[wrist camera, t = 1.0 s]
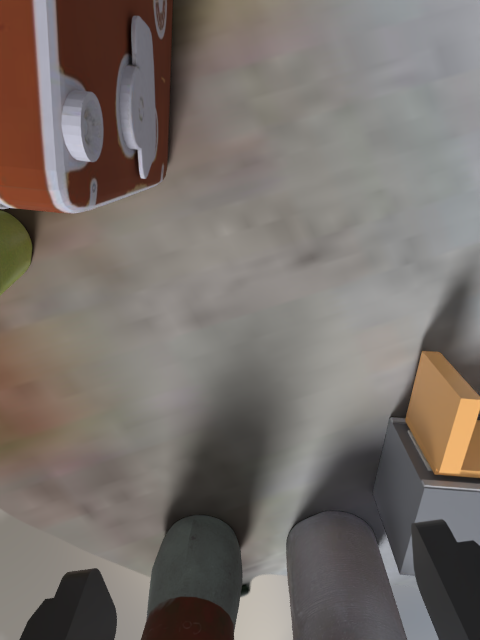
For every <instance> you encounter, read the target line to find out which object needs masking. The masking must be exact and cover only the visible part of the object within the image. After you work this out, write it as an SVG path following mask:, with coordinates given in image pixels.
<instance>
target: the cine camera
mask: <svg viewBox="0 0 480 640" xmlns="http://www.w3.org/2000/svg"><path fill="white" fill-rule="evenodd" d="M172 14H173V0H0V209H7V208H17V209H27V210H37V211H48V212H58V213H69V214H72V213H78V212H84V211H88V210H92V209H95V208H97V207H100V206H103V205H105V204H108V203H111V202H114V201H116V200H119V199H122V198H125V197H127V196H130V195H133V194H136V193H138V192H141V191H144V190H147V189H149V188H152V187H154V186H156V185H158V184H159V183H160V182H161V181H162V180H163V179H164V178H165V176H166V171H167V160H168V134H169V104H170V74H171V44H172Z"/></svg>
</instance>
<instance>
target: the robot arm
mask: <svg viewBox="0 0 480 640" xmlns="http://www.w3.org/2000/svg"><path fill="white" fill-rule="evenodd" d="M411 533H412V549H413V565H414V572H415V577H416V581H417V584H418V587H419V591H420V593H421V596H422V598H423V601H424V603H425V606H426V608H427V611H428V613H429V616H430V618H431V621H432V623H433V625H434V628H435V631H436V633H437V635H438V638H439V640H480V546H479V545H478V544H477V543H476V542H475V541H474V540H471V541H464V542H457V541H456V539H455V537H454V535H453V534H452V532H451V530H450V528H449V526H448V525H447V523H446V522H445V521H444V520H443V519H439V520H431V521H424V522H417V523H412V525H411ZM116 626H117V616H116V609H115V606H114V603H113V601H112V599H111V596H110V594H109V592H108V589H107V587H106V585H105V582H104V580H103V578H102V575H101V573H100V571H99V570H98V569H96V568H94V569H88V570H80V571H72V572H67V573H66V574H65V575H64V576H63V578H62V580H61V582H60V585H59V587H58V589H57V592H56V594H55V597H54V598H50V599H45V600H44V601H43V603H42V604H41V605H40V606H39V608H38V609H37V610H36V612H35V613H34V614H33V615H32V617H31V618H30V619H29V621H28V622H27V625H26V627H25V629H24V631H23V633H22V635H21V638H20V640H114V638H115V634H116Z"/></svg>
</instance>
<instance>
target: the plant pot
mask: <svg viewBox="0 0 480 640" xmlns="http://www.w3.org/2000/svg"><path fill="white" fill-rule="evenodd" d="M31 255H32V243H31V239H30V237H29V234H28V233H27V231H26V229H25V228H24V226H23V225H22V224H21V223H20V222H19V221H18V220H17V219H16V218H15V217H13V216H12V215H11V214H9V213H7V212H4V211H2V210H0V295H1V294H2V293H3V292H5V291H6V290H7V289H8V288H9V287H10V286H11V285H12V284H13V283H14V282H15V281H16V280H17V279H19V278H20V277H21V276H22V275H23V274H24V273H25V272H26V270H27V269H28V268H29V266H30V263H31Z"/></svg>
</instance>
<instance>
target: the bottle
mask: <svg viewBox="0 0 480 640" xmlns="http://www.w3.org/2000/svg"><path fill="white" fill-rule="evenodd" d="M241 588H242V563H241V551H240V547H239V544H238V540H237V537H236V535H235V533H234V531H233V530H232V529H231V528H230V527H229V526H228V524H226V523H225V522H223V521H221V520H219V519H218V518H214V517H210V516H207V515H194V516H189V517H185V518H183V519H181V520H179V521H177V522H176V523H175V524H174V525H173V526H172V527H171V528H170V529H169V531H168V532H167V534H166V536H165V537H164V539H163V541H162V544H161V547H160V549H159V552H158V555H157V557H156V560H155V563H154V566H153V569H152V574H151V582H150V590H149V600H148V611H147V622H146V625H145V628H144V631H143V635H142V638H141V640H234V629H235V624H236V618H237V613H238V607H239V601H240V595H241Z"/></svg>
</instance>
